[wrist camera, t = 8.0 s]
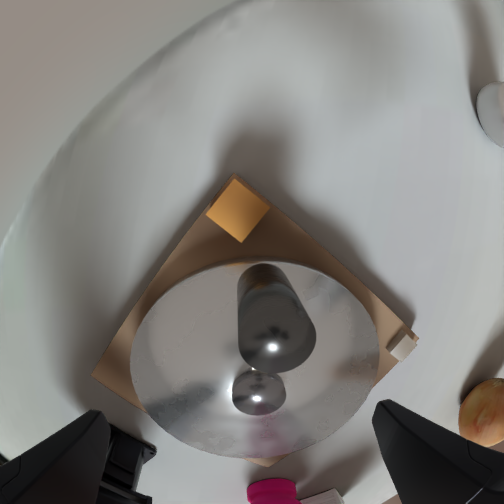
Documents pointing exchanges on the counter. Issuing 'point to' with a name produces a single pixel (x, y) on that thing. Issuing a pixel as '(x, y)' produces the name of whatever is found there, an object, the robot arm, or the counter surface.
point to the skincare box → (325, 498)
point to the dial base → (239, 245)
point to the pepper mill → (272, 492)
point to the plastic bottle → (492, 111)
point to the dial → (254, 357)
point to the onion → (483, 413)
